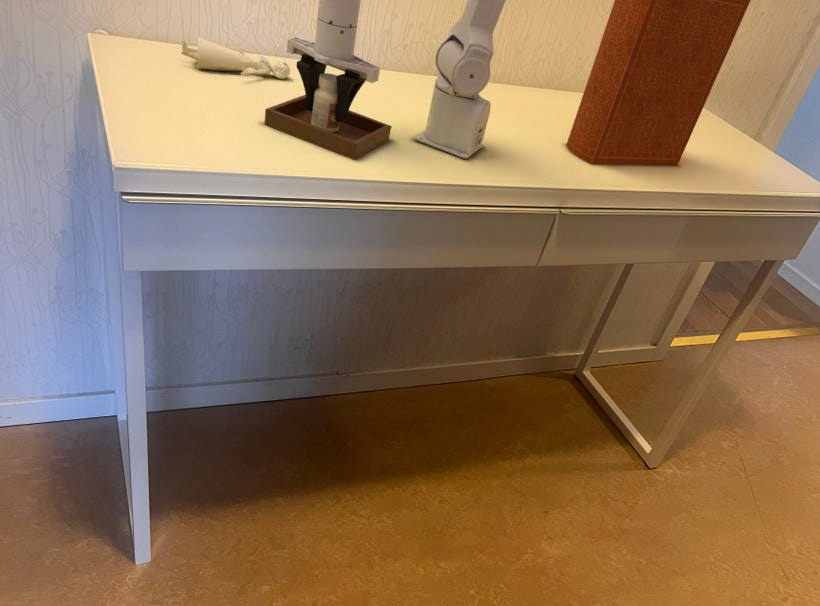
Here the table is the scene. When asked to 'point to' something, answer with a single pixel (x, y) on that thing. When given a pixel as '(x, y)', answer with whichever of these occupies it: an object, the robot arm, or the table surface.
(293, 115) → the tray
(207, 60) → the woman figurine
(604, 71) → the book
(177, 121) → the table surface
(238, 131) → the table surface
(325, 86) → the pill bottle
